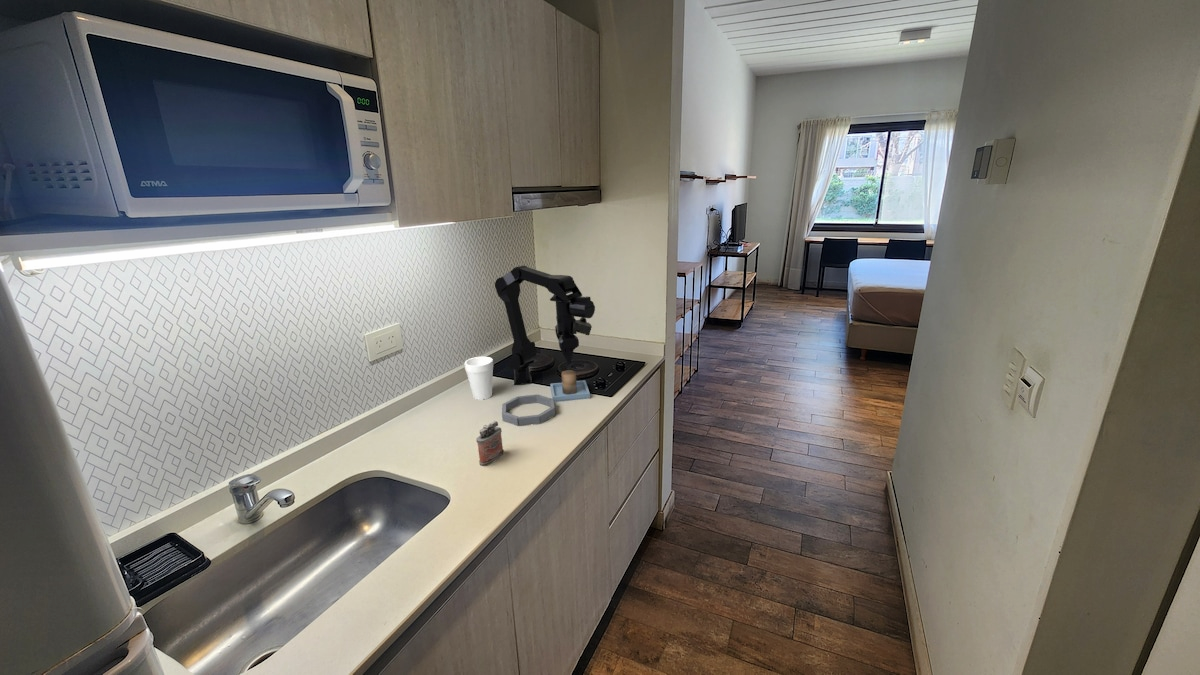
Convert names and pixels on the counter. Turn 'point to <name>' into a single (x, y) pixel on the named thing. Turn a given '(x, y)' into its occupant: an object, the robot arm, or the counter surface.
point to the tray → (580, 394)
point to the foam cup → (480, 376)
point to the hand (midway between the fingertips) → (567, 358)
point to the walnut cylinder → (569, 382)
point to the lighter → (490, 444)
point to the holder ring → (533, 418)
